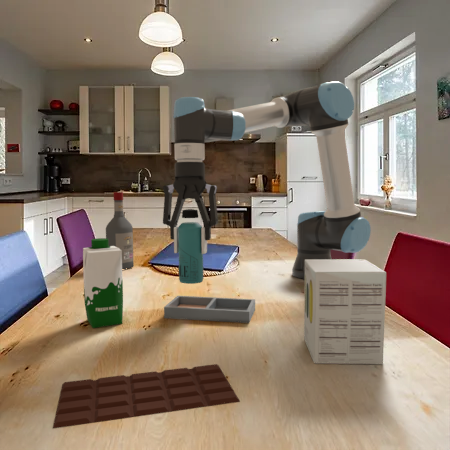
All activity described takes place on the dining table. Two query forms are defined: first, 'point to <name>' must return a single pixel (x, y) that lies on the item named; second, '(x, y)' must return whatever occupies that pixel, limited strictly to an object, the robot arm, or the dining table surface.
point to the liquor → (121, 232)
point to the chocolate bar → (142, 395)
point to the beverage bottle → (190, 250)
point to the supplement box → (344, 311)
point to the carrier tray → (210, 309)
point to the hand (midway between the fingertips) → (190, 252)
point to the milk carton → (103, 283)
